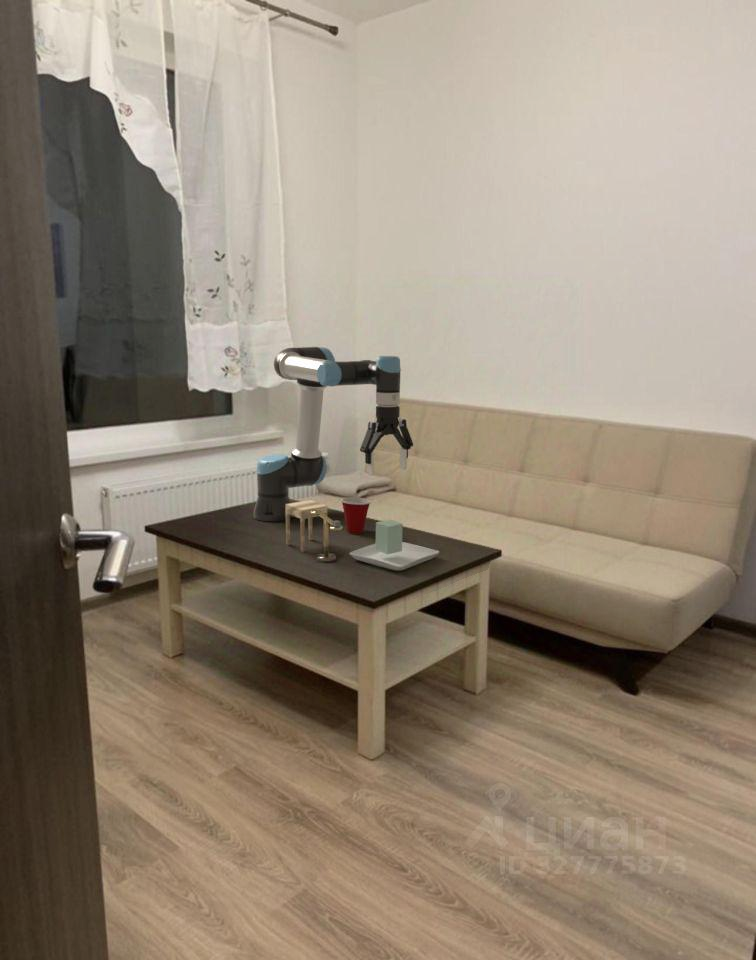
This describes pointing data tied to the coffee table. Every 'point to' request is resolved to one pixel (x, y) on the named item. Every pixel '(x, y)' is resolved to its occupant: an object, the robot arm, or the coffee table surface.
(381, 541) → the block
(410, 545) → the salad plate
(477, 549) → the coffee table surface
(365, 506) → the plastic cup
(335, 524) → the balance
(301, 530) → the wooden stool
